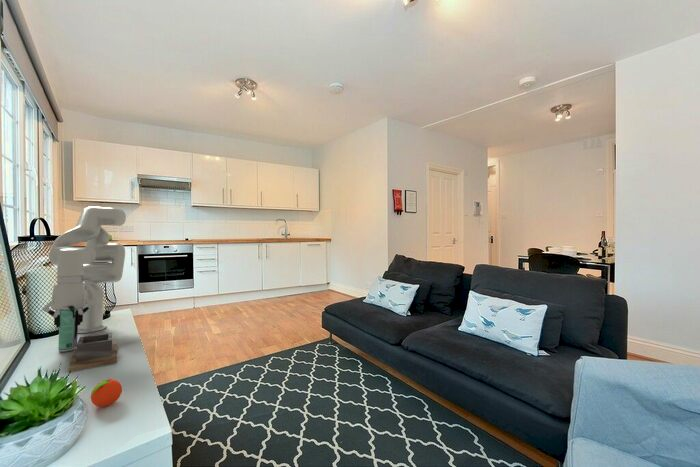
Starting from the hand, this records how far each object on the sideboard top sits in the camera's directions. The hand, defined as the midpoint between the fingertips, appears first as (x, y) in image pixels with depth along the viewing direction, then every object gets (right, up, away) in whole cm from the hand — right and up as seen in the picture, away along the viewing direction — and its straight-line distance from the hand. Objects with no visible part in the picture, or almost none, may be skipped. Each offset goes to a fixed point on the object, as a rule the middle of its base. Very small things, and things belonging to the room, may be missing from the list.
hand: (68, 324), depth 120 cm
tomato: (+43, -12, -35) cm, 57 cm away
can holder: (+15, -11, -5) cm, 19 cm away
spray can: (0, -10, 0) cm, 10 cm away
